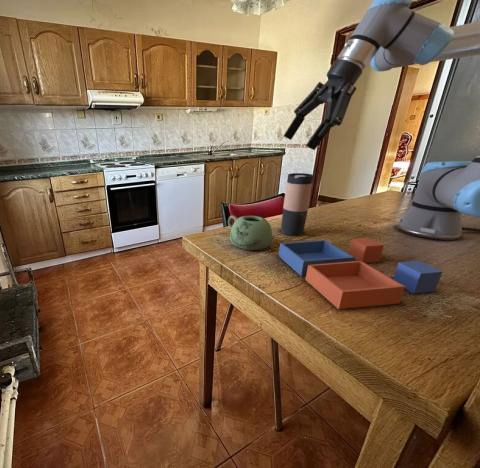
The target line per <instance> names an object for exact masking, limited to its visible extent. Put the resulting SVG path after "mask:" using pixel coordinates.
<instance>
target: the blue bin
mask: <svg viewBox="0 0 480 468" xmlns="http://www.w3.org/2000/svg"><path fill="white" fill-rule="evenodd" d="M278 257H279V258H280V259H281V260H282V261H284V262H285V264H287V266H289V267H290V268H292V270H294V271H295V273H297V274H298V275H299V276H300V277H306V274H307V269H308V265H314V264H326V263H339V262H351V261H355V259H354V258H355V257H353V256H352V255H350V254H348V252H346V251H345V250H343V249H341V248H339V247H338V246H336V245H334V244H332V243H331V242H329V241H327V240H326V239H319V240H305V241H291V242H290V241H289V242H280V243H279V250H278Z"/></svg>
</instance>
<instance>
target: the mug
mask: <svg viewBox="0 0 480 468" xmlns="http://www.w3.org/2000/svg"><path fill="white" fill-rule="evenodd" d="M232 219H233V221H234V222H233V224H232ZM227 226H228V228H229V229H230V233H229V239H230V242H231V243H232V245H234V246H235V247H237V248H238V249H242V250H246V251H260V250H264V249H266V248H268V247H270V245H271V243H272V240H273V229H272V226H271V224H270V222H269V221H268V220H267V219H266V218H265V217H262V216H258V215H243V216H240V217H237V216H235V215H230V216H229V217H228V219H227Z"/></svg>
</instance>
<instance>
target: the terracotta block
mask: <svg viewBox="0 0 480 468" xmlns="http://www.w3.org/2000/svg"><path fill="white" fill-rule="evenodd" d="M384 246H385V244H383V243H381V242H379V241H377V240H374V239H372V238H370V237H362V238H361V237H360V238H359V237H358V238H351V239H350V245H349V249H348V252H347V253H348V254H350V255H352V256H353V257H355V258H354V261H362V262H364V263H365V264H370V263H379V262H380V260H381V257H382V253H383V250H384Z"/></svg>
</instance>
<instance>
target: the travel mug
mask: <svg viewBox="0 0 480 468" xmlns="http://www.w3.org/2000/svg"><path fill="white" fill-rule="evenodd" d="M313 182H314V175H313V174H312V173H304V172H303V173H302V172H293V173H288V174H287V179H286V186H285V192H284V199H283V207H282V215H281V226H280V232H281V233H282V234H283V235H285V236H286V235H287V236H293V237H298V236H302V235H304V230H305V226H306V221H307V217H308V212H309V206H310V201H311V194H312V188H313Z"/></svg>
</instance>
